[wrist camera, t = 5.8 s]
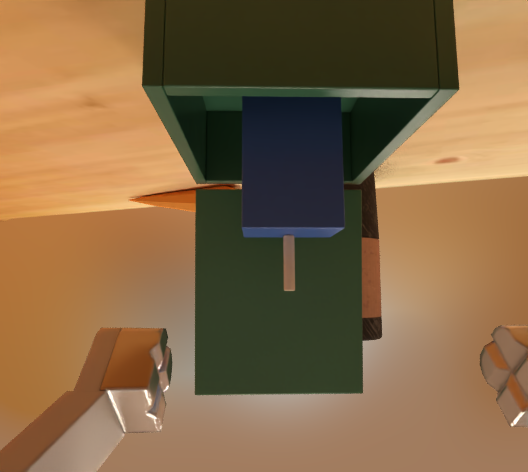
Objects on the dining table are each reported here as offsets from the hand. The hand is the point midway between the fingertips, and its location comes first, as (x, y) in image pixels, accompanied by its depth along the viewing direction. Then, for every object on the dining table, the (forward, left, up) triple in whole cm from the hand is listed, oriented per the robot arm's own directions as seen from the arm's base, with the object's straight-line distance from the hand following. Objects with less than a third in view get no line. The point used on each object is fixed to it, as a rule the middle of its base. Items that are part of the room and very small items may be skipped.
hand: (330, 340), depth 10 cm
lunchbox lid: (+2, -19, -1) cm, 20 cm away
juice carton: (+1, -10, -15) cm, 18 cm away
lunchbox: (+1, -12, -15) cm, 19 cm away
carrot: (-8, -48, -16) cm, 52 cm away
